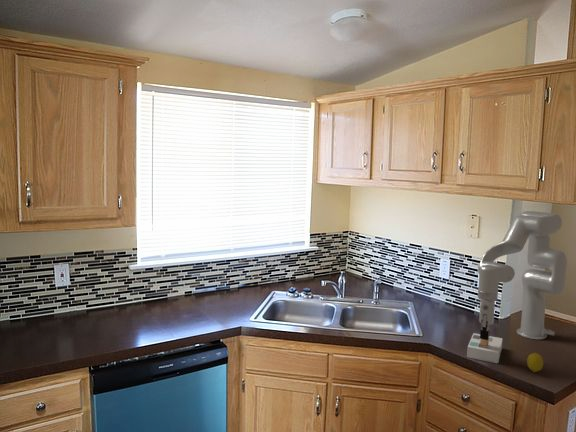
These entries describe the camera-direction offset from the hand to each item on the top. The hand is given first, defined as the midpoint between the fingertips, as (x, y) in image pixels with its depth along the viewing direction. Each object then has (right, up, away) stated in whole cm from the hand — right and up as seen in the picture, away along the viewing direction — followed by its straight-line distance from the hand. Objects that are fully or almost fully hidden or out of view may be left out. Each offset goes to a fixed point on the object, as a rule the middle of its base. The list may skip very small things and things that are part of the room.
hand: (484, 337), depth 191 cm
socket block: (+2, -8, +5) cm, 10 cm away
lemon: (+14, -10, -13) cm, 22 cm away
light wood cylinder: (0, -3, 0) cm, 3 cm away
